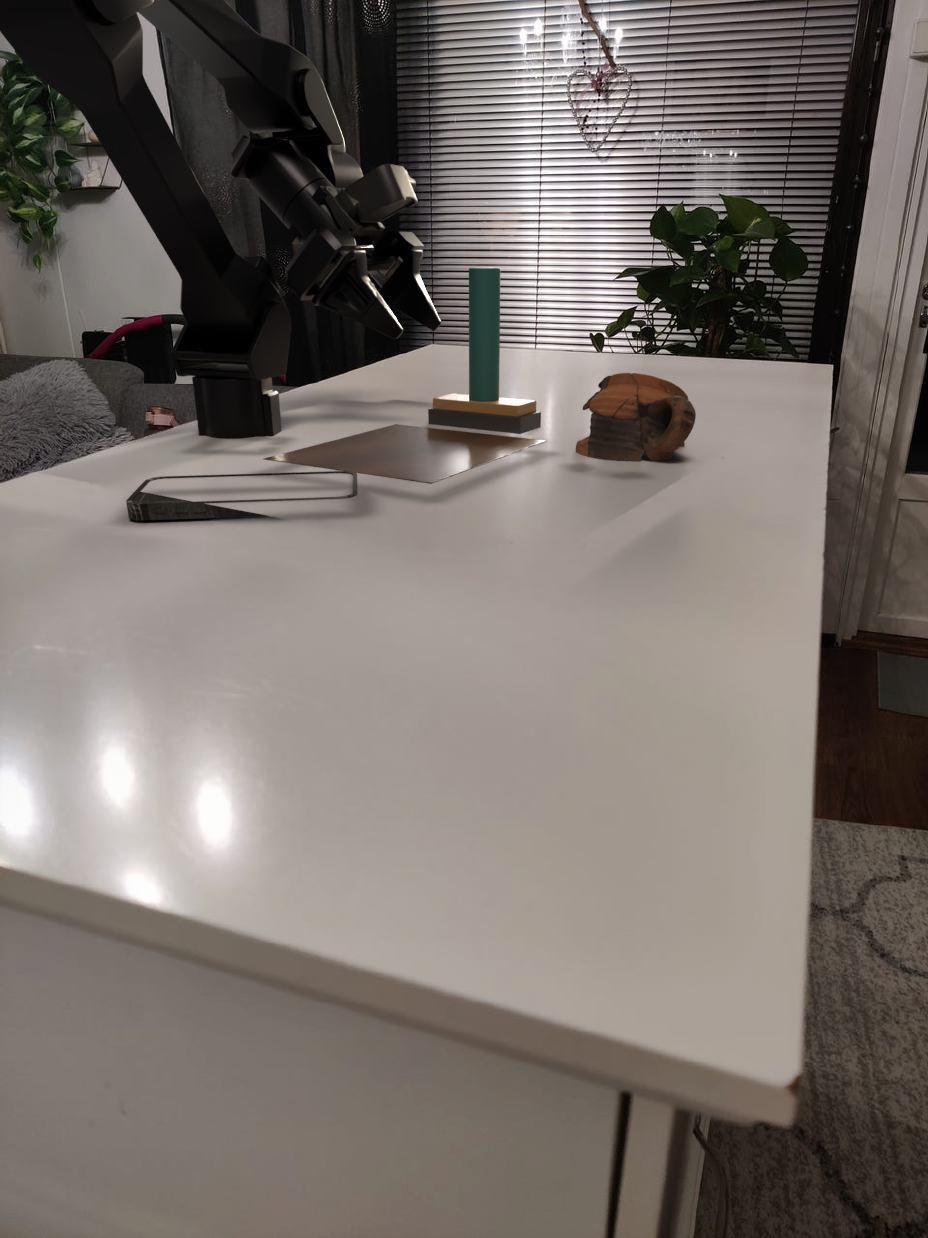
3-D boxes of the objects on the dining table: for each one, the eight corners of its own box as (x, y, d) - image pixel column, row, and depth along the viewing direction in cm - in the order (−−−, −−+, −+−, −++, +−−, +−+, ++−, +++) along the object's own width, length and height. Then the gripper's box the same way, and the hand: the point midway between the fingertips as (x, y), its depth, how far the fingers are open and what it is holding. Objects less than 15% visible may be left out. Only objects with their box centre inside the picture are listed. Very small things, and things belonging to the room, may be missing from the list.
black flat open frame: (148, 476, 63) (356, 470, 65) (150, 492, 64) (357, 484, 65) (121, 505, 56) (357, 496, 58) (124, 521, 56) (358, 513, 58)
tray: (264, 473, 70) (262, 458, 69) (396, 436, 84) (395, 424, 83) (431, 499, 62) (431, 483, 61) (546, 454, 76) (546, 440, 76)
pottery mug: (543, 467, 73) (569, 374, 74) (626, 505, 78) (650, 417, 78) (639, 455, 63) (668, 347, 63) (728, 499, 68) (754, 399, 68)
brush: (428, 425, 84) (425, 267, 78) (450, 419, 87) (449, 267, 81) (520, 435, 79) (523, 267, 73) (540, 428, 82) (545, 267, 76)
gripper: (306, 116, 69) (438, 267, 70) (402, 141, 85) (508, 263, 86) (231, 227, 75) (354, 365, 75) (335, 231, 91) (435, 345, 92)
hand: (419, 330), depth 82 cm, fingers open, 9 cm apart
